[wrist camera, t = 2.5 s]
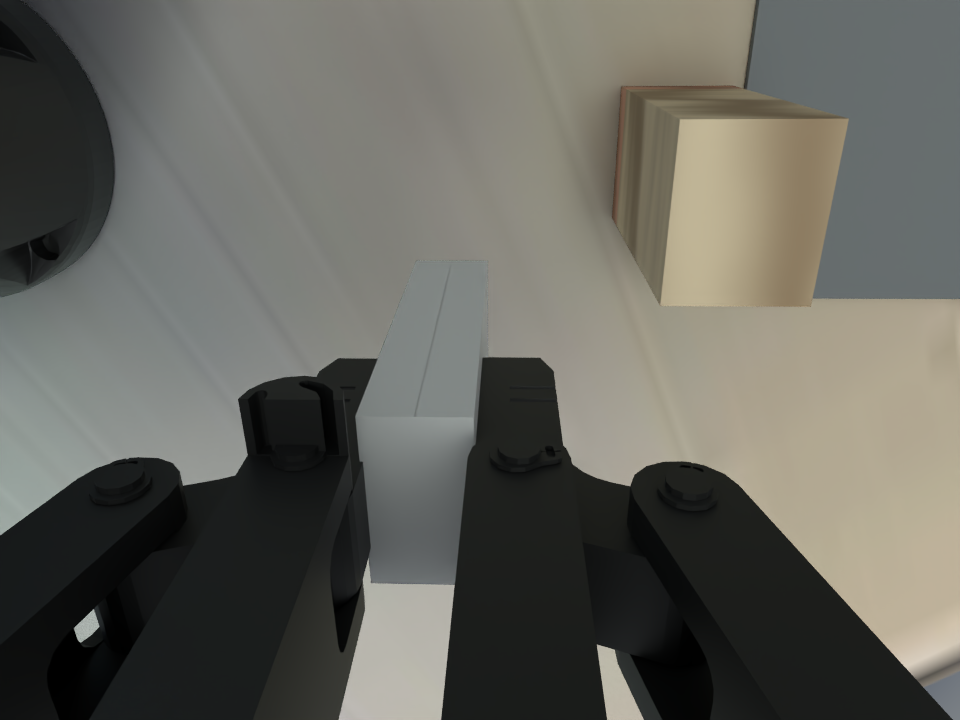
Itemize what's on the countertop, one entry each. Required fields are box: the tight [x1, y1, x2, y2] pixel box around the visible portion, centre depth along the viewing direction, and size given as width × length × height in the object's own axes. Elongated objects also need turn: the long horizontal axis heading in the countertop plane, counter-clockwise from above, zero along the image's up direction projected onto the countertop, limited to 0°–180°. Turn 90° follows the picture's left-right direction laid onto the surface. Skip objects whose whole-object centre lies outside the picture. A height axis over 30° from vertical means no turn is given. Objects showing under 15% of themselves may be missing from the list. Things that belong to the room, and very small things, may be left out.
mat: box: [744, 0, 960, 299], centre depth 33 cm, size 20×14×1 cm
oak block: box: [612, 86, 849, 307], centre depth 28 cm, size 5×6×12 cm
